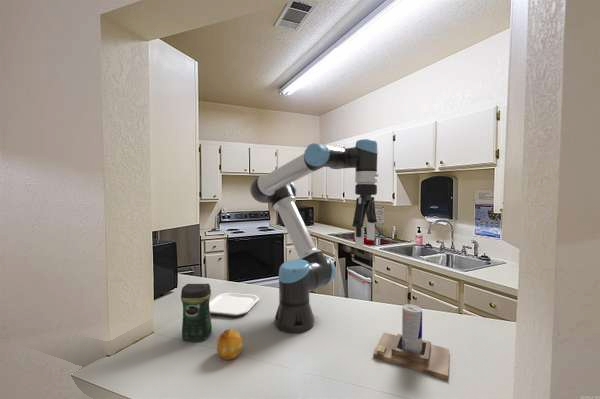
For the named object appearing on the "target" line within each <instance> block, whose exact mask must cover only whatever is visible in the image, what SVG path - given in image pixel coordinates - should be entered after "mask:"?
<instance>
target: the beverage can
mask: <svg viewBox="0 0 600 399" xmlns="http://www.w3.org/2000/svg"><path fill="white" fill-rule="evenodd" d="M401 312H402V313H401V314H402V315H401V316H402V322H401V323H402V324H401V325H402V327H401V328H402V331H401V332H402V333H401V335H402V345H401V347H402V348H401V349H402V350H405V351H409V352H412V353H416V354H420V355H423V351H422V340H423V308H421V306H418V305H416V304H410V303H407V304H404V305H402V310H401Z"/></svg>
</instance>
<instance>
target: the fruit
mask: <svg viewBox="0 0 600 399" xmlns="http://www.w3.org/2000/svg"><path fill="white" fill-rule="evenodd" d="M243 348H244V338H243V336H242V334H240V333H239V332H238V331H236V330H235V329H232V328H229V329H226V330H224V331H223V332H222V333H221V334H220V335H219V337H218V339H217V340H216V351H217V353H218V356H219V357H220V358H221V359H223V360H233V359H235V358H237V357H238V356H239V355H240V354H241V353H242V350H243Z"/></svg>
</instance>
